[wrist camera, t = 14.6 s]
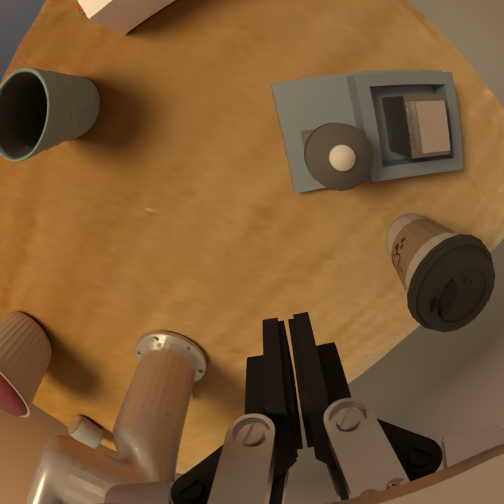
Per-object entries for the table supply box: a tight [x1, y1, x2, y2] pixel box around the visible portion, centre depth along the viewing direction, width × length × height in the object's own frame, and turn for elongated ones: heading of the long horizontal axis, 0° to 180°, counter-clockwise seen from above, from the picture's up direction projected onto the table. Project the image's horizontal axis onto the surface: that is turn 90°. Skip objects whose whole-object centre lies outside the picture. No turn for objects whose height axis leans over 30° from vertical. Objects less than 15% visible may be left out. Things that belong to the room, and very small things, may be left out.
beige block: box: [381, 95, 450, 159], centre depth 27 cm, size 5×6×7 cm
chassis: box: [271, 70, 463, 193], centre depth 29 cm, size 13×22×6 cm, turn 103°
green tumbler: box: [0, 68, 100, 162], centre depth 26 cm, size 10×10×12 cm
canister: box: [0, 312, 52, 417], centre depth 40 cm, size 18×18×21 cm
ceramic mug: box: [68, 415, 104, 449], centre depth 60 cm, size 11×8×8 cm
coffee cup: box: [386, 214, 495, 332], centre depth 31 cm, size 11×11×15 cm
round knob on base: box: [304, 123, 373, 191], centre depth 28 cm, size 6×6×7 cm
